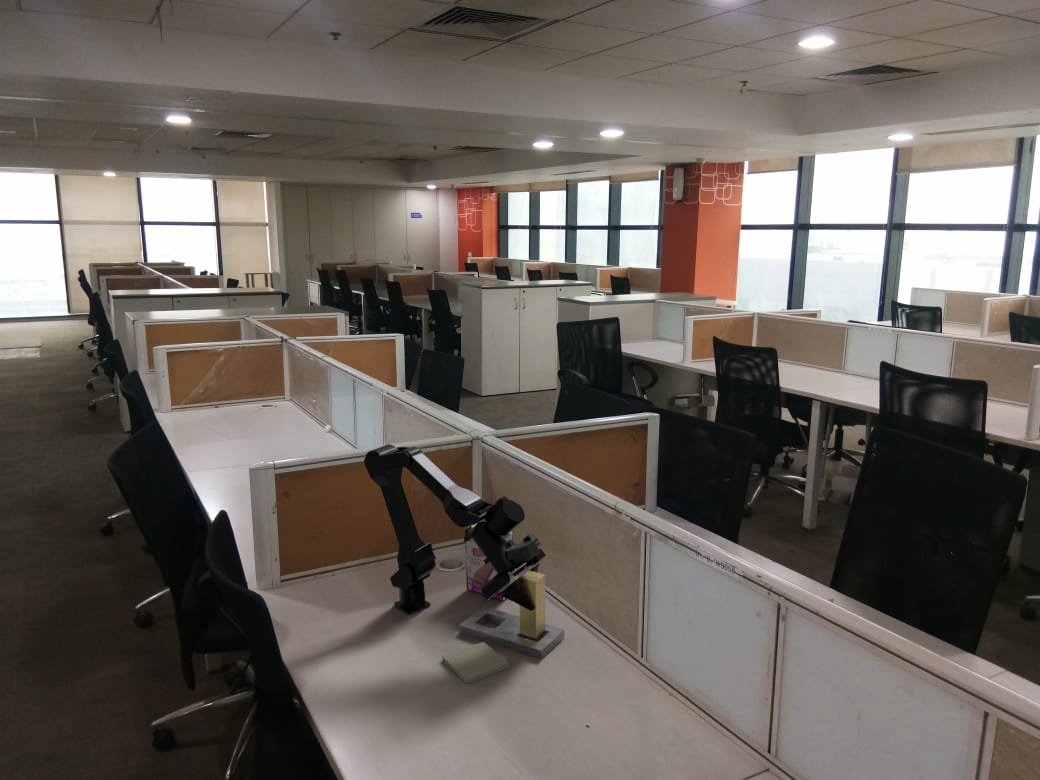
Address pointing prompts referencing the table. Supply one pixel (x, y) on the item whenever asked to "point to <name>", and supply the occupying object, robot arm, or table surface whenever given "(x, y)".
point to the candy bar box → (479, 567)
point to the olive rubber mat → (475, 662)
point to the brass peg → (535, 590)
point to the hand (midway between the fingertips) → (538, 605)
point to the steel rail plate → (509, 633)
